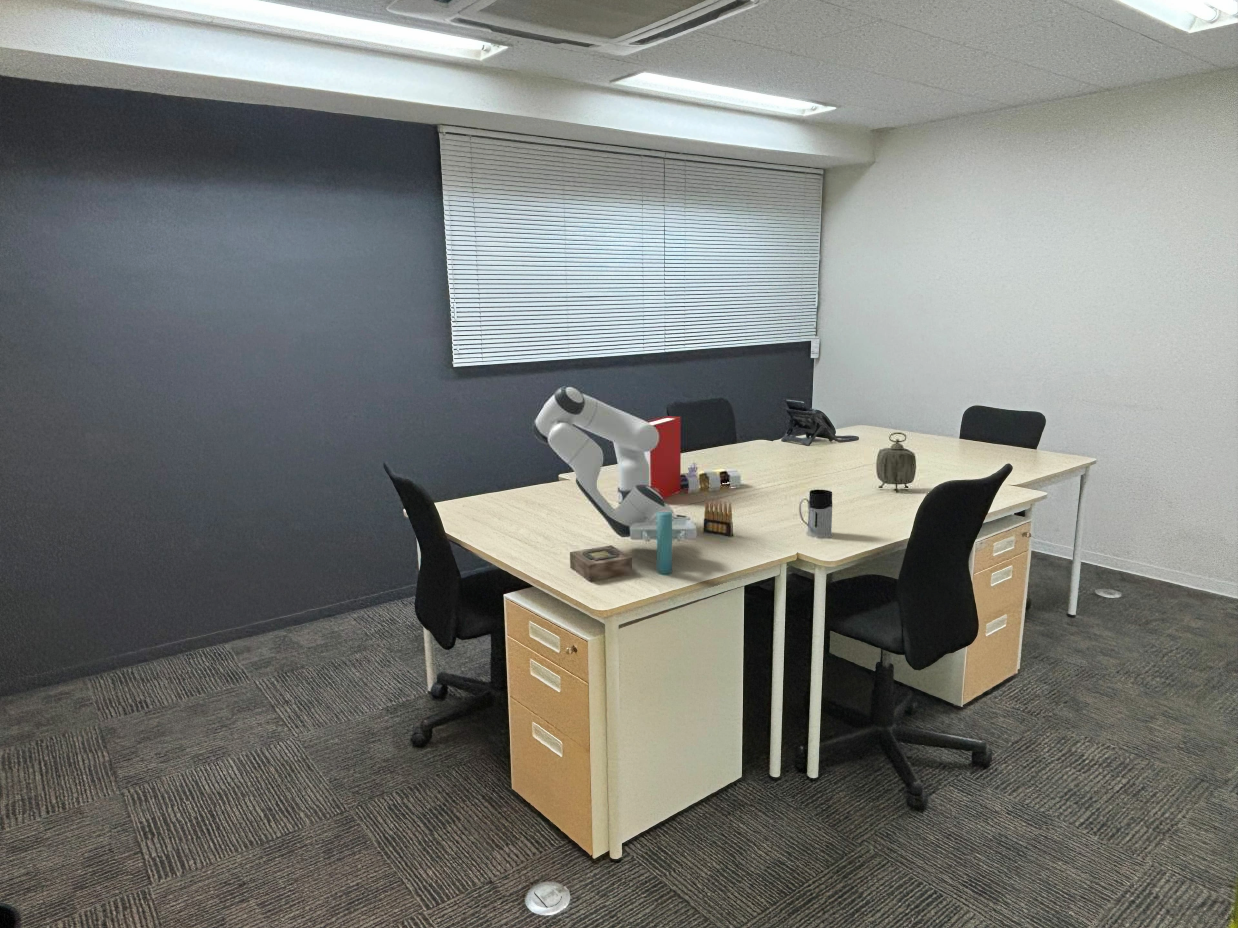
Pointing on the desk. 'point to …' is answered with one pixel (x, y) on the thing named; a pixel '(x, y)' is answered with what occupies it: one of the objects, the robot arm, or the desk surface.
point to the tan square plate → (600, 554)
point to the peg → (664, 543)
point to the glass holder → (819, 513)
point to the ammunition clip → (718, 519)
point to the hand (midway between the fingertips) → (663, 538)
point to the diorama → (709, 479)
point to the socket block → (601, 563)
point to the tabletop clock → (896, 464)
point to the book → (666, 456)
